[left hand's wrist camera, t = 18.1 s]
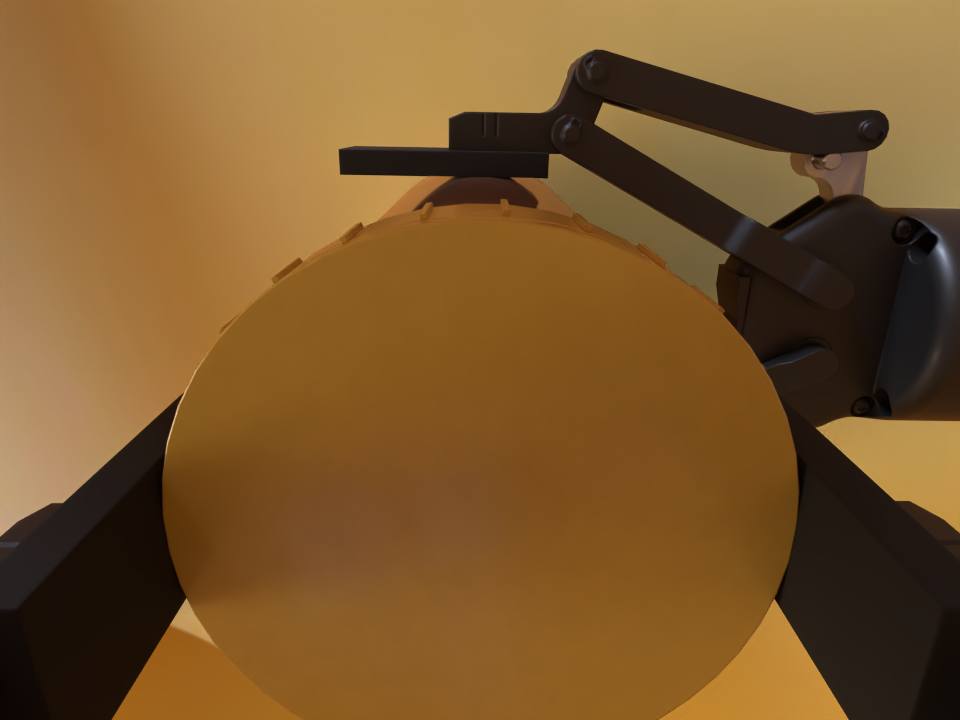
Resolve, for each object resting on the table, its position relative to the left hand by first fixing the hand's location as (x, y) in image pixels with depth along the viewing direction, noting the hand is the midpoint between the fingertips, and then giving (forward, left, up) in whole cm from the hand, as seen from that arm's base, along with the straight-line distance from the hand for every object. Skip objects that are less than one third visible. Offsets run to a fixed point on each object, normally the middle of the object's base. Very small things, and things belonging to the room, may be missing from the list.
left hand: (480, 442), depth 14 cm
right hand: (-4, -1, -10) cm, 11 cm away
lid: (0, 0, +3) cm, 3 cm away
